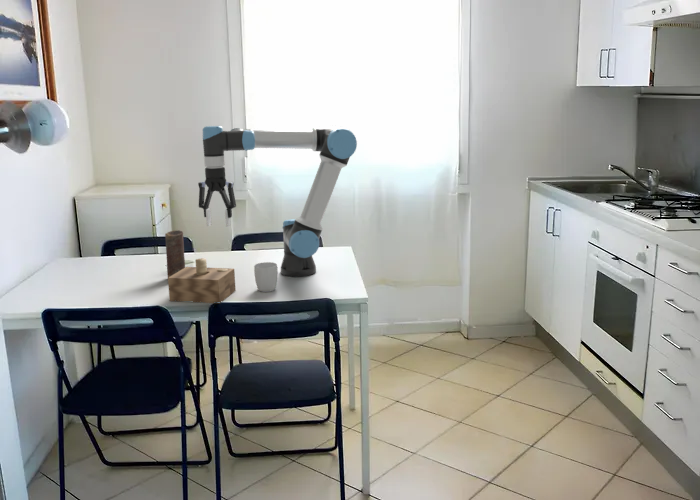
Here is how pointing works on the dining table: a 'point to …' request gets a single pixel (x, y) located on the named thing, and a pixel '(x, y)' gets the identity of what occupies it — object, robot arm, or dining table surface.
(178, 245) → the brown cylindrical vase
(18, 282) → the dining table surface
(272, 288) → the mug
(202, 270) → the beech dowel
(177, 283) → the socket block
